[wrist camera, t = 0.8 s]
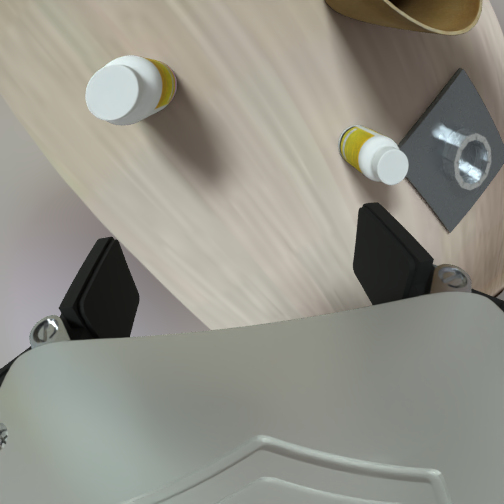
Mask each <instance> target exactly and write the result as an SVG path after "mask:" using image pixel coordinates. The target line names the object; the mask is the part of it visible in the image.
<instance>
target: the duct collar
mask: <svg viewBox="0 0 504 504" xmlns="http://www.w3.org/2000/svg"><path fill="white" fill-rule="evenodd" d="M398 147H399V150H400V151H402V152H403V153H404V154H405V155H406V157H407V159H408V164H409V166H408V172H407V174H406V176H405V177H406V178H407V179H408V180H409V181H410V182H411V184H412V185H413V186H414V187H415V189H416V190H417V191H418V192H419V193H420V195H421V196H422V197H423V198H424V200H425V201H426V202H427V203H428V205H429V206H430V207H431V209H432V210H433V211H434V213H435V214H436V215H437V217H438V218H439V219H440V221H441V222H442V223H443V225H444V226H445V228H446V229H447V230H448V231H449V232H450V233H451V231H452V230H453V229H454V228H455V227H456V226H457V224H458V223H459V222H460V221H461V220H462V218H463V217H464V216H465V215H466V213H467V212H468V211H469V210H470V209H471V207H472V206H473V205H474V204H475V202H476V201H477V200H478V198H479V197H480V196H481V194H482V193H483V192H484V191H485V189H486V188H487V186H488V185H489V184H490V182H491V181H492V180H493V178H494V177H495V175H496V174H497V173H498V171H499V170H500V168H501V167H502V165H503V164H504V144H503V142H502V139H501V137H500V135H499V133H498V131H497V128H496V126H495V124H494V122H493V120H492V118H491V116H490V114H489V112H488V110H487V108H486V106H485V105H484V103H483V101H482V99H481V97H480V96H479V94H478V92H477V90H476V89H475V87H474V85H473V84H472V82H471V80H470V79H469V77H468V75H467V74H466V72H465V71H464V69H458V71H457V72H456V73H455V75H454V76H453V77H452V79H451V80H450V81H449V82H448V84H447V85H446V86H445V88H444V89H443V90H442V91H441V93H440V94H439V95H438V96H437V98H436V99H435V100H434V102H433V103H432V104H431V105H430V107H429V108H428V109H427V110H426V112H425V113H424V114H423V115H422V117H421V118H420V119H419V120H418V121H417V123H416V124H415V125H414V126H413V128H412V129H411V130H410V131H409V132H408V134H407V135H406V136H405V137H404V138H403V140H402V141H401V142H400V143H399V144H398Z"/></svg>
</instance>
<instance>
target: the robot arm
mask: <svg viewBox="0 0 504 504" xmlns="http://www.w3.org/2000/svg"><path fill="white" fill-rule="evenodd" d="M433 260H434V259H433V258H432V257H431V256H430V254H429V253H428V252H427V251H426V250H425V249H424V248H423V247H422V246H421V245H420V244H419V243H418V242H417V241H416V239H415V238H414V237H413V236H412V235H411V234H410V233H409V232H408V231H407V230H406V229H405V228H404V227H403V226H402V225H401V224H400V223H399V222H398V221H397V220H396V219H395V218H394V217H393V216H392V215H391V214H390V213H389V212H388V211H387V210H386V209H385V208H383V207H382V206H381V205H380V204H379V203H378V202H377V203H366V204H364V205H363V207H362V208H360V209H359V212H358V224H357V234H356V244H355V253H354V261H353V270H354V273H355V275H356V277H357V278H358V280H359V282H360V283H361V285H362V287H363V289H364V290H365V292H366V294H367V296H368V298H369V299H370V301H371V303H372V305H373V306H368V307H363V308H358V309H353V310H347V311H342V312H336V313H331V314H325V315H319V316H313V317H307V318H301V319H294V320H288V321H281V322H274V323H267V324H260V325H252V326H245V327H237V328H228V329H220V330H211V331H202V332H191V333H180V334H168V335H156V336H142V337H130V334H131V330H132V326H133V322H134V318H135V315H136V311H137V307H138V304H139V293H138V290H137V288H136V286H135V283H134V281H133V278H132V276H131V273H130V271H129V268H128V265H127V263H126V260H125V257H124V255H123V252H122V249H121V247H120V244H119V241H118V240H114V238H113V237H107V238H101V239H98V240H97V242H96V243H95V245H94V247H93V248H92V250H91V251H90V253H89V255H88V256H87V258H86V260H85V262H84V263H83V265H82V267H81V268H80V270H79V272H78V274H77V275H76V277H75V279H74V280H73V282H72V284H71V286H70V288H69V290H68V292H67V293H66V295H65V297H64V299H63V301H62V303H61V305H60V307H59V309H60V311H61V316H60V317H58V316H55V315H51V316H47V317H45V318H43V319H41V320H40V321H39V322H37V324H36V325H35V326H34V327H33V329H32V330H31V333H30V336H29V337H30V344H31V347H29V348H28V349H27V350H25V351H24V352H23V353H21V354H20V355H19V356H17V357H16V358H15V359H13V360H12V361H11V362H9V363H8V364H7V365H5V366H4V367H3V368H1V369H0V504H504V301H503V300H500V299H497V298H495V297H492V296H490V295H487V294H484V293H482V292H479V291H476V290H474V289H471V279H470V277H469V275H468V274H467V273H466V272H465V271H464V270H462V269H461V268H459V267H457V266H454V265H450V264H442V265H439V266H437V267H436V268H435V267H434V265H433Z"/></svg>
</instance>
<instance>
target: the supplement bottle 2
mask: <svg viewBox="0 0 504 504" xmlns="http://www.w3.org/2000/svg"><path fill="white" fill-rule="evenodd" d="M338 147H339V152H340V154H341V156H342V157H343V159H344V160H345V161H347V162H348V163H349V164H350V165H352V166H353V167H354V168H356V169H357V170H358V171H359V172H361V173H362V174H363V175H364V176H366V177H367V178H369V179H370V180H373V181H377V182H381V181H382V182H383V183H385V184H387V185H395V184H398V183H399V182H401V181H402V180H403V179H404V178H405V176H406V174H407V172H408V166H409V164H408V159H407V157H406V155H405V154H404V153H403V152H402V151H400V150H399V147H398V146H397V144H396V143H395V142H394V141H393V140H392V139H390V138H388V137H386V136H384V135H382V134H380V133H378V132H376V131H373V130H371V129H369V128H367V127H364V126H361V125H354V126H350V127H348V128H347V129H345V130H344V131H343V133H342V134H341V136H340V138H339V143H338Z"/></svg>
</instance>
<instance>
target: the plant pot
mask: <svg viewBox="0 0 504 504" xmlns="http://www.w3.org/2000/svg"><path fill="white" fill-rule="evenodd" d="M325 1H326V3H327V4H328V5H329V6H330V7H331V8H332V9H333V10H335V11H336V12H338V13H340V14H342V15H344V16H347V17H350V18H353V19H356V20H359V21H363V22H367V23H371V24H376V25H380V26H385V27H391V28H397V29H403V30H410V31H418V32H425V33H434V34H443V35H460V34H463V33H466V32H468V31H469V30H471V29H472V28H473V27H474V26H475V25H476V23H477V22H478V20H479V17H480V14H481V11H482V0H325Z"/></svg>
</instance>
